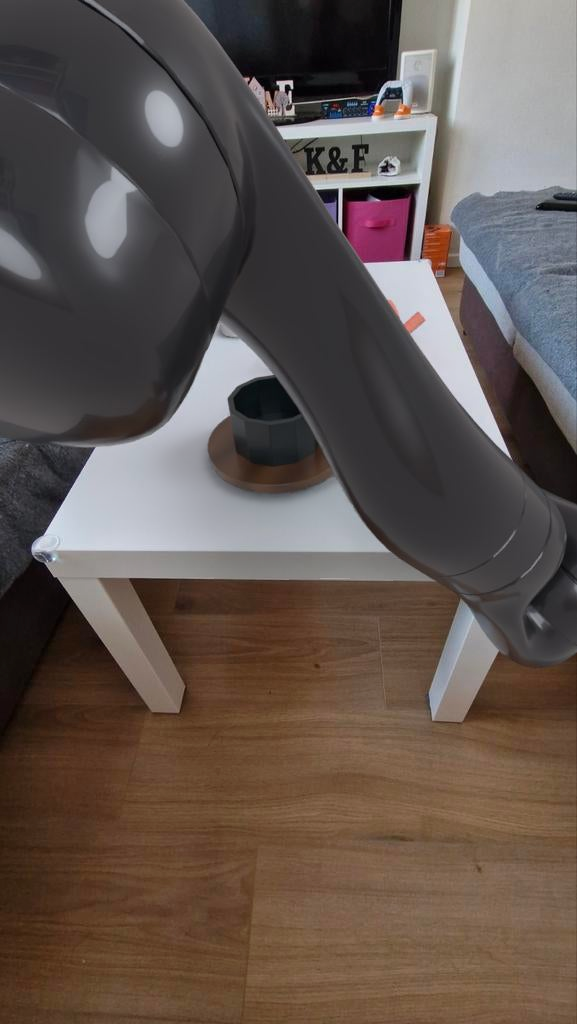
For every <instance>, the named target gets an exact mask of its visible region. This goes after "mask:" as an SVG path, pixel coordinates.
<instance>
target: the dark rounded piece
mask: <svg viewBox="0 0 577 1024" xmlns="http://www.w3.org/2000/svg"><path fill="white" fill-rule="evenodd" d="M227 405H228V413H229V415H228V416H226V418H224V419H223V420H222V421H221V422H219V423H218V424H217V426H215V427H214V429H213V430H212V432H211V433H210V436H209V438H208V441H207V453H208V458H209V462H210V465H211V467H212V469H213V471H214V472H215V474H217V476H219V478H221V479H222V481H224V482H226V483H228V484H230V485H231V486H233V487H235V488H238V489H241V490H243V491H248V492H253V493H259V494H271V495H273V494H286V493H287V494H288V493H293V492H297V491H298V492H299V491H302V490H305V489H309V488H311V487H314V486H316V485H318V484H319V485H320V483H322V482H324V481H326V480H328V479H329V478H331V477H332V476H333V475H334V473H333V471H332V469H331V467H330V466H329V464H328V462H327V460H326V458H325V456H324V454H323V452H322V450H321V448H320V446H319V444H318V442H317V441H316V439H315V437H314V435H313V433H312V432H311V430H310V428H309V426H308V425H307V423H306V421H305V419H304V418H303V416H302V414H301V413H300V411H299V409H298V408H297V406H296V405H295V403H294V402H293V400H292V399H291V398H290V396H289V395H288V393H287V392H286V391H285V389H284V388H283V386H282V385H281V384H280V382H279V381H278V379H277V378H276V377H275V376H274V374H270V375H264V376H263V375H262V376H257V377H254V378H252V379H249V380H247V381H245V382H243V383H240V384H238V385H237V386H235V388H234V389H233V391H232V392H231V393H230V394H229V395H228V396H227Z"/></svg>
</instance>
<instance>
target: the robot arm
mask: <svg viewBox="0 0 577 1024" xmlns="http://www.w3.org/2000/svg"><path fill="white" fill-rule="evenodd" d="M388 300H389V299H388V298H387V297H386V295H385V294H384V293H383V291H382V289H381V288H380V287H379V285H378V284H377V282H376V280H375V279H374V278H373V276H372V275H371V273H370V271H369V270H368V268H367V267H366V265H365V264H364V262H363V261H362V259H361V258H360V256H359V254H358V253H357V251H356V250H355V249H354V247H353V246H352V244H351V242H350V241H349V239H348V238H347V237H346V235H345V234H344V232H343V231H342V229H341V228H340V226H339V224H338V223H337V222H336V220H335V218H334V217H333V215H332V214H331V212H330V211H329V209H328V207H327V206H326V204H325V202H324V200H322V198H321V196H320V195H319V193H318V191H317V190H316V188H315V186H314V185H313V183H312V182H311V180H310V178H309V177H308V175H307V174H306V172H305V170H304V168H303V167H302V166H301V164H300V163H299V160H298V159H297V157H296V156H295V155H294V153H293V151H292V150H291V148H290V147H289V144H288V143H287V142H286V141H285V138H284V137H283V135H282V133H281V132H280V131H279V129H278V128H277V126H276V124H275V123H274V121H273V120H272V118H271V116H270V115H269V114H268V112H267V110H266V109H265V107H264V106H263V104H262V103H261V101H260V100H259V98H258V97H257V95H256V94H255V92H254V90H253V89H252V88H251V87H250V85H249V84H248V83H247V81H246V79H245V78H244V76H243V75H242V73H241V72H240V71H239V69H238V68H237V65H235V63H234V62H233V60H231V58H230V57H229V55H228V54H227V52H226V51H225V50H224V48H223V46H222V45H221V44H220V43H219V41H218V40H217V38H216V37H214V34H213V33H212V32H211V31H210V29H208V27H207V26H206V24H205V23H204V21H202V19H201V18H200V17H199V15H198V14H197V13H196V12H195V11H194V10H193V9H192V7H190V6H189V4H188V3H187V2H186V1H185V0H0V439H7V440H13V441H19V442H25V443H32V444H36V445H37V444H39V445H46V446H47V445H48V446H56V447H71V448H72V447H73V448H103V447H104V448H105V447H112V446H114V447H115V446H120V445H125V444H130V443H135V442H136V441H139V440H142V439H144V438H147V437H149V436H151V435H153V434H154V433H156V432H157V431H159V430H161V429H162V428H164V427H165V426H166V424H167V423H168V422H169V421H170V420H171V419H172V418H173V417H174V415H175V414H176V413H177V411H178V410H179V409H180V407H181V405H182V404H183V402H184V401H185V399H186V398H187V396H188V394H189V392H190V391H191V389H192V387H193V385H194V383H195V381H196V378H197V376H198V374H199V371H200V369H201V368H202V367H201V366H202V364H203V361H204V358H205V356H206V353H207V351H208V350H209V348H210V345H211V343H212V341H213V337H214V335H215V333H216V330H217V327H218V325H219V323H220V322H221V323H222V324H223V325H225V326H226V327H227V328H228V329H229V330H231V331H232V332H233V333H234V334H236V335H237V336H238V337H237V338H239V339H240V341H242V342H243V343H244V344H245V345H246V346H247V347H248V348H249V349H250V350H251V351H252V352H253V353H254V354H255V355H256V356H257V358H258V359H260V361H262V362H263V364H264V365H265V366H266V367H267V368H268V370H269V371H270V372H271V373H272V375H274V376H275V377H276V378H277V379H278V381H279V382H280V384H281V385H282V386H283V388H284V389H285V391H286V392H287V393H288V395H289V396H290V398H291V399H292V400H293V402H294V403H295V405H296V406H297V408H298V409H299V411H300V413H301V414H302V416H303V418H304V419H305V421H306V423H307V425H308V426H309V428H310V430H311V432H312V433H313V435H314V437H315V439H316V441H317V442H318V444H319V446H320V448H321V450H322V452H323V454H324V456H325V458H326V460H327V462H328V464H329V466H330V467H331V469H332V471H333V473H334V474H333V475H334V477H335V479H336V480H337V482H338V484H339V485H340V487H341V490H342V491H343V493H344V495H345V497H346V498H347V500H348V503H350V505H351V507H352V508H353V510H354V512H355V514H356V515H357V516H358V518H359V519H360V520H361V522H362V524H364V526H365V527H366V528H367V529H368V530H369V532H370V533H371V534H372V535H373V536H374V537H375V538H376V539H377V541H378V542H380V543H381V544H382V545H383V547H385V549H387V550H388V551H389V552H390V553H392V554H393V555H394V556H395V557H397V558H398V559H399V560H401V561H402V562H404V563H405V564H407V565H409V566H410V567H412V568H413V569H415V570H417V571H418V572H420V573H422V574H423V575H425V576H427V577H428V578H430V579H432V580H433V581H435V582H437V583H438V584H440V585H441V586H443V587H445V588H446V589H448V590H450V591H451V592H453V593H454V594H455V595H456V596H458V598H460V599H461V600H462V601H463V603H464V604H466V606H467V607H468V609H469V610H470V612H471V613H472V616H473V617H474V619H475V621H476V622H477V624H478V626H479V628H480V629H481V631H482V632H483V634H484V635H485V636H486V637H487V639H488V640H489V641H490V642H491V644H492V645H493V646H494V647H495V649H497V650H498V652H500V653H501V654H502V655H503V656H504V657H505V658H507V659H509V660H510V661H511V662H513V663H515V664H517V665H519V666H522V667H525V668H529V669H544V668H545V669H546V668H549V667H554V666H557V665H559V664H561V663H563V662H565V661H567V660H568V659H570V658H571V657H573V656H574V655H576V654H577V503H575V502H572V501H570V500H568V499H565V498H563V497H561V496H558V495H556V494H554V493H552V492H550V491H548V490H546V489H544V488H542V487H541V486H539V485H537V483H536V482H535V481H534V480H533V479H532V478H531V477H530V476H529V475H528V474H527V473H526V472H525V471H524V470H523V469H522V468H521V467H520V466H519V465H518V464H517V463H516V462H515V461H514V460H513V459H512V458H511V457H510V456H509V455H507V454H506V452H504V451H503V450H502V449H501V448H500V447H499V446H498V445H497V443H495V441H494V440H493V439H492V438H491V437H490V436H489V435H488V434H487V433H486V432H485V431H484V429H482V428H481V426H480V425H479V424H478V423H477V422H476V421H475V420H474V418H473V416H471V415H470V413H469V411H467V410H466V409H465V408H464V406H463V405H462V403H460V402H459V400H458V399H457V398H456V397H455V395H454V394H453V393H452V391H451V390H450V388H449V387H448V386H447V384H445V382H444V381H443V379H442V378H441V377H440V375H439V373H438V372H437V371H436V369H435V368H434V367H433V365H432V363H431V362H430V361H429V360H428V358H427V356H426V355H425V353H424V352H423V351H422V349H421V348H420V346H419V345H418V344H417V342H416V340H415V339H414V338H413V336H412V335H411V334H410V333H409V332H408V330H407V329H406V327H405V326H404V322H402V320H401V318H399V317H400V316H399V317H398V315H397V314H396V312H395V311H394V309H393V308H392V306H391V305H390V303H389V302H388Z"/></svg>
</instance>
